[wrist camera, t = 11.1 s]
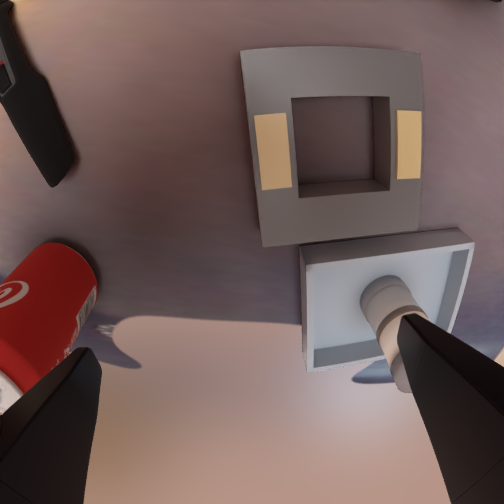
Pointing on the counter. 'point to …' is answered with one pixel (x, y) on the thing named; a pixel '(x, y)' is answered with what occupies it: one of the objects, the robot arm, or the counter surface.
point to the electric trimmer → (31, 106)
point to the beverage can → (41, 316)
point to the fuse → (389, 319)
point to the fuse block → (385, 141)
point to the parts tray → (363, 273)
